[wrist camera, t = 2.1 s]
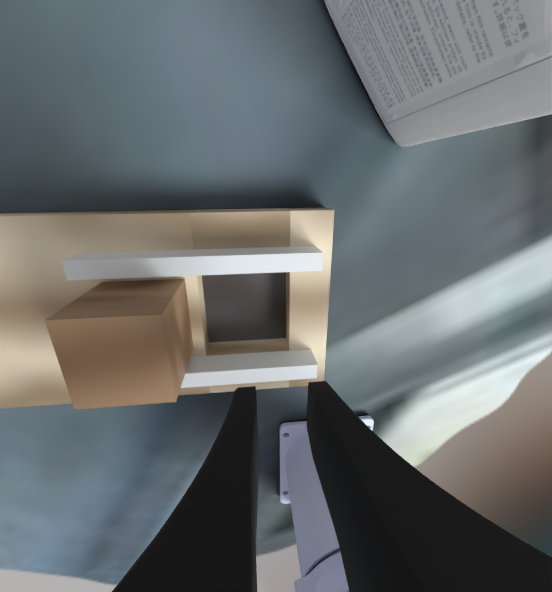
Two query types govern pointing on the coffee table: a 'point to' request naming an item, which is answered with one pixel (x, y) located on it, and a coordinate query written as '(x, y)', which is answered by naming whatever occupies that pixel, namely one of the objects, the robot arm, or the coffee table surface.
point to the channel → (213, 263)
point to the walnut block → (124, 343)
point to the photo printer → (449, 62)
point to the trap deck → (200, 289)
